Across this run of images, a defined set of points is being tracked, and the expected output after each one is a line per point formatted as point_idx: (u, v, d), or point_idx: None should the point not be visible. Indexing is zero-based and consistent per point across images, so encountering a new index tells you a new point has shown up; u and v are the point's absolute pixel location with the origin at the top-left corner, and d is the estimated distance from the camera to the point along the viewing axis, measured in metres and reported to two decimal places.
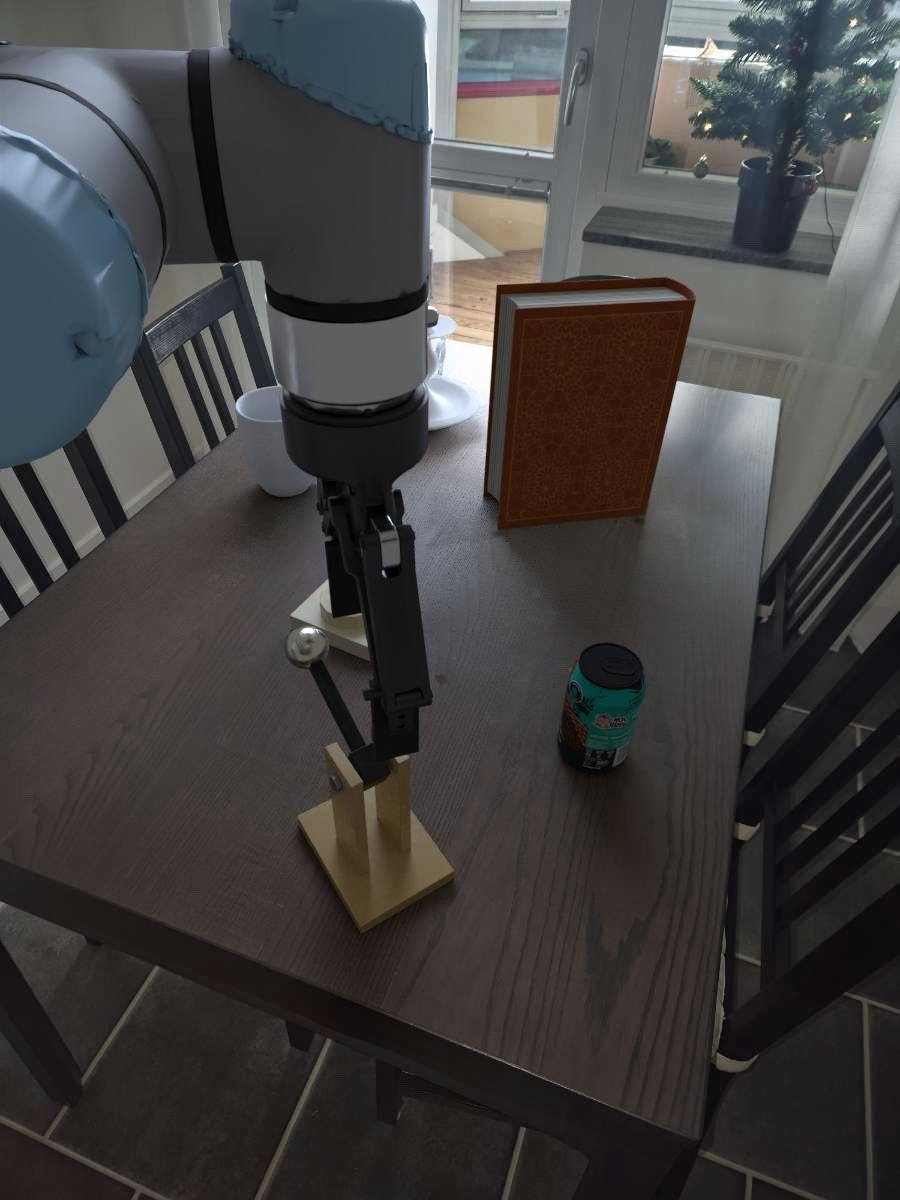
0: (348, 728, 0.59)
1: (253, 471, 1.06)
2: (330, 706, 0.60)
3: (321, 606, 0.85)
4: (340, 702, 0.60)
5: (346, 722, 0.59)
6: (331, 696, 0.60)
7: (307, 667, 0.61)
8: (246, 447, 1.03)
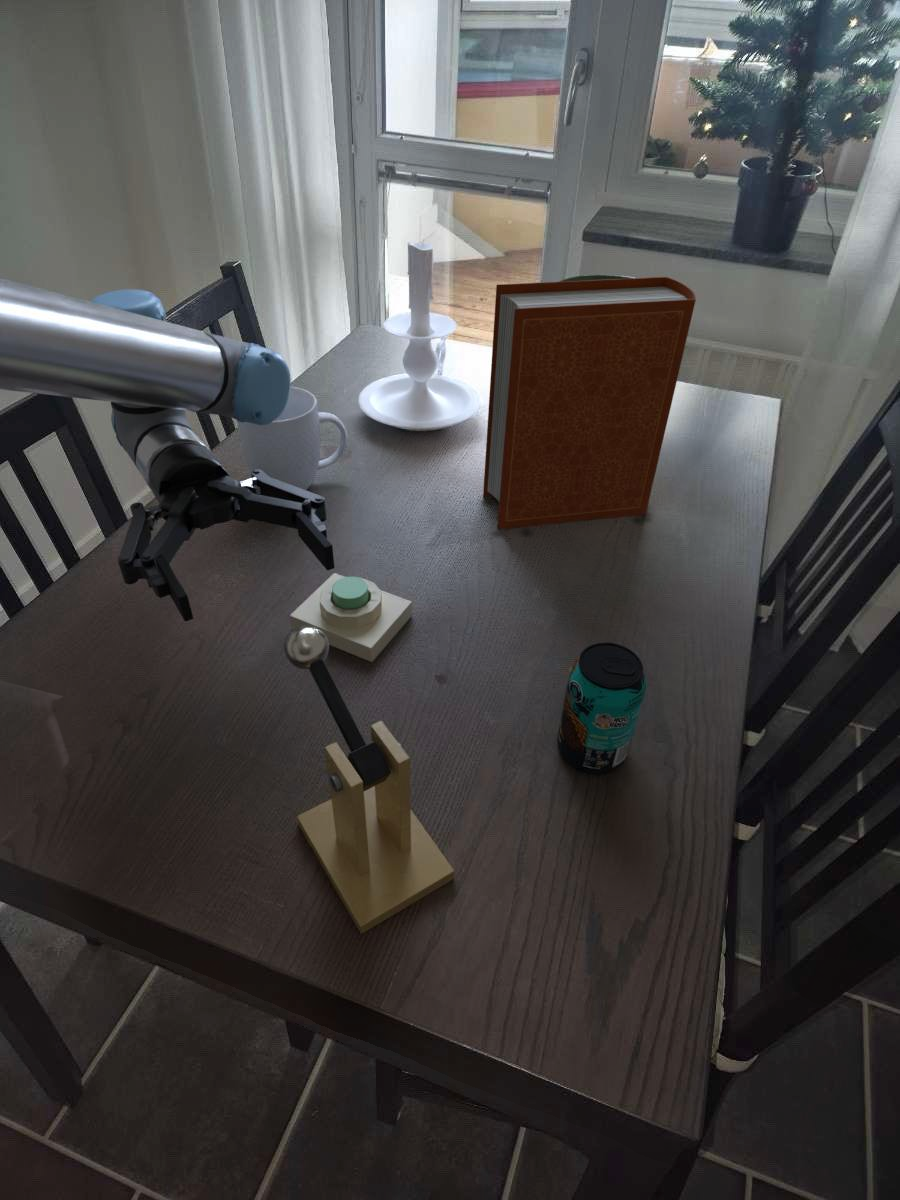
0: (348, 728, 0.59)
1: None
2: (330, 706, 0.60)
3: (321, 606, 0.85)
4: (340, 702, 0.60)
5: (346, 722, 0.59)
6: (331, 696, 0.60)
7: (307, 667, 0.61)
8: (246, 447, 1.03)
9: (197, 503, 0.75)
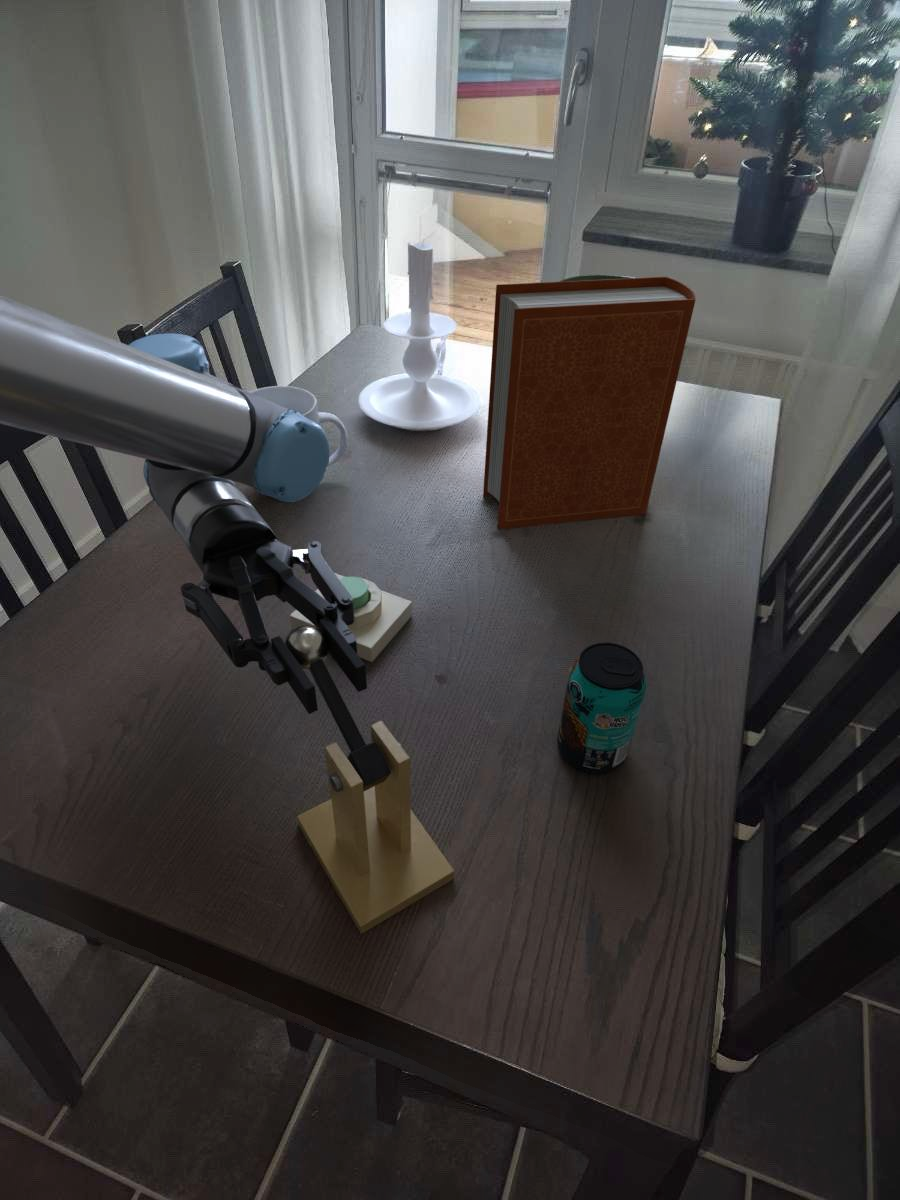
0: (348, 728, 0.59)
1: None
2: (330, 706, 0.60)
3: None
4: (340, 702, 0.60)
5: (346, 722, 0.59)
6: (331, 696, 0.60)
7: (307, 667, 0.61)
8: None
9: None
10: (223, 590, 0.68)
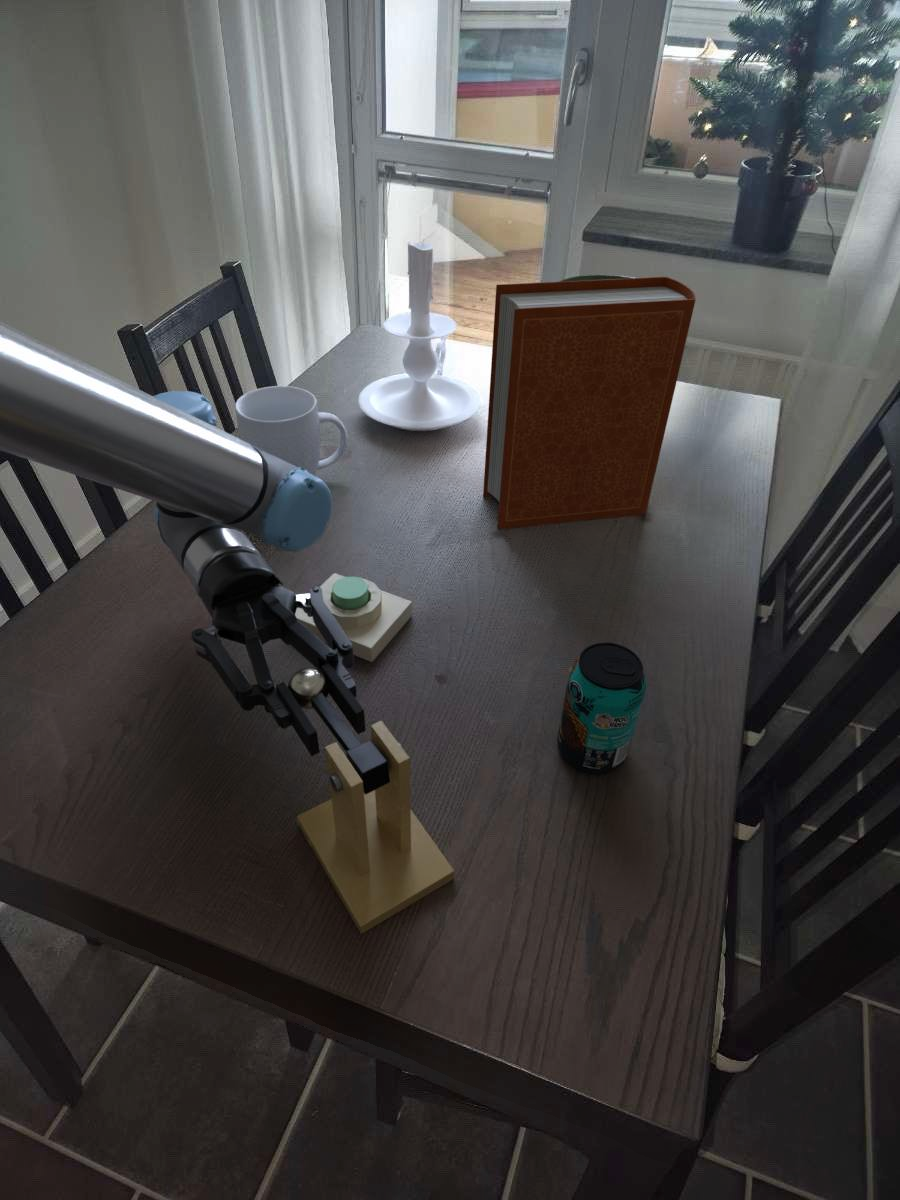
0: (346, 737, 0.61)
1: None
2: (329, 725, 0.62)
3: None
4: (338, 719, 0.62)
5: (344, 733, 0.61)
6: (329, 716, 0.63)
7: (308, 701, 0.65)
8: None
9: None
10: (231, 634, 0.72)
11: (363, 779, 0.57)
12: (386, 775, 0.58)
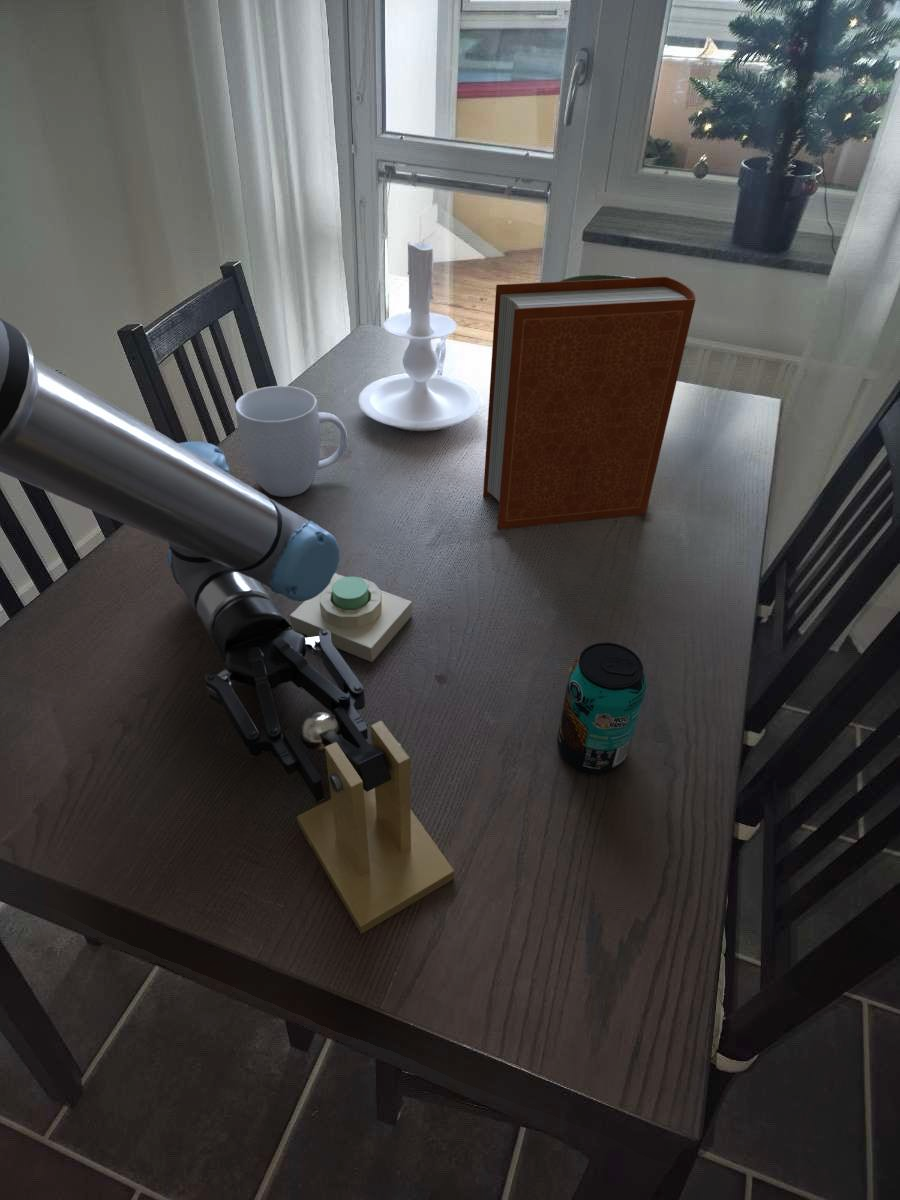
0: (349, 750, 0.61)
1: (253, 471, 1.06)
2: None
3: (321, 606, 0.85)
4: (343, 741, 0.64)
5: (347, 748, 0.62)
6: (335, 741, 0.64)
7: (318, 739, 0.67)
8: (246, 447, 1.03)
9: (264, 664, 0.75)
10: (243, 678, 0.75)
11: (360, 772, 0.57)
12: (385, 769, 0.58)
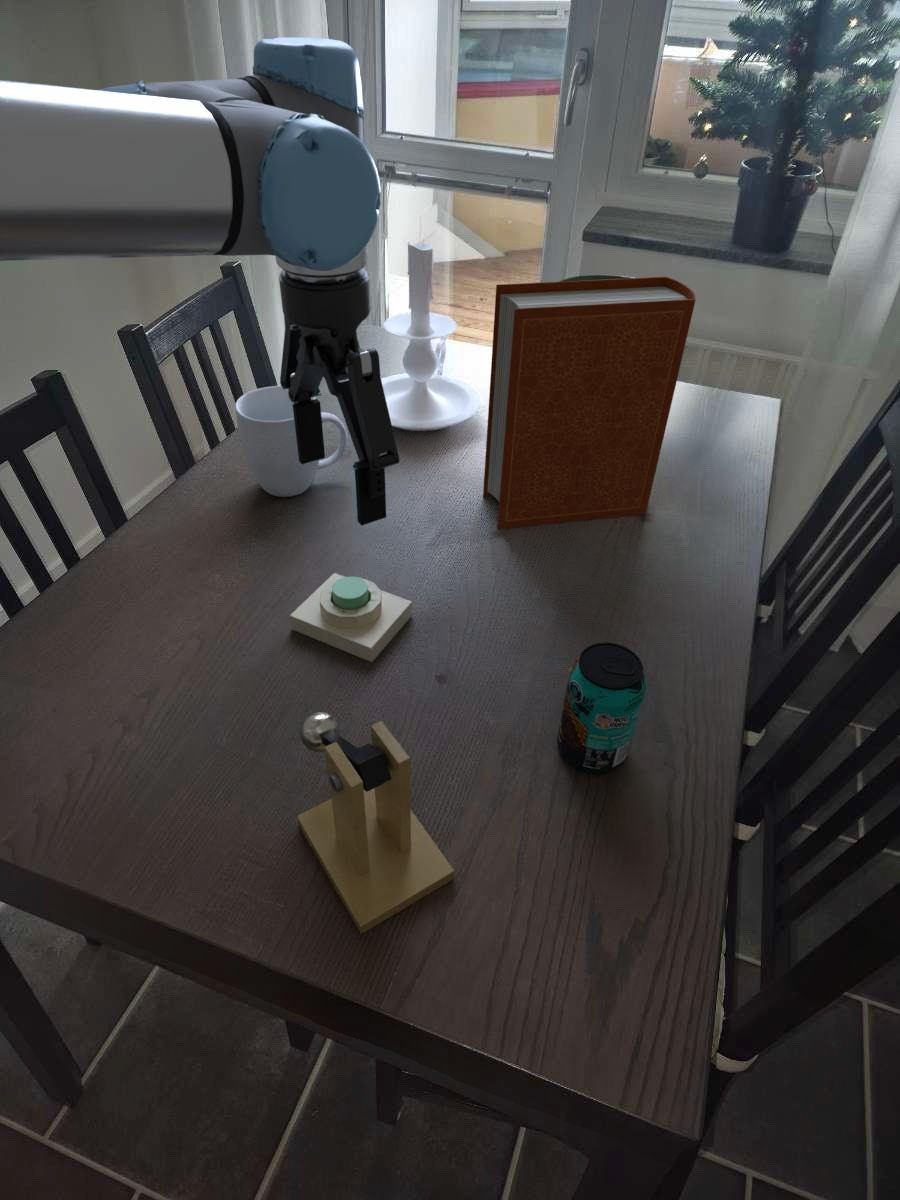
0: (349, 750, 0.61)
1: (253, 471, 1.06)
2: None
3: (321, 606, 0.85)
4: (343, 741, 0.64)
5: (347, 748, 0.62)
6: (335, 741, 0.64)
7: (318, 739, 0.67)
8: (246, 447, 1.03)
9: (314, 357, 0.68)
10: None
11: (360, 772, 0.57)
12: (385, 769, 0.58)
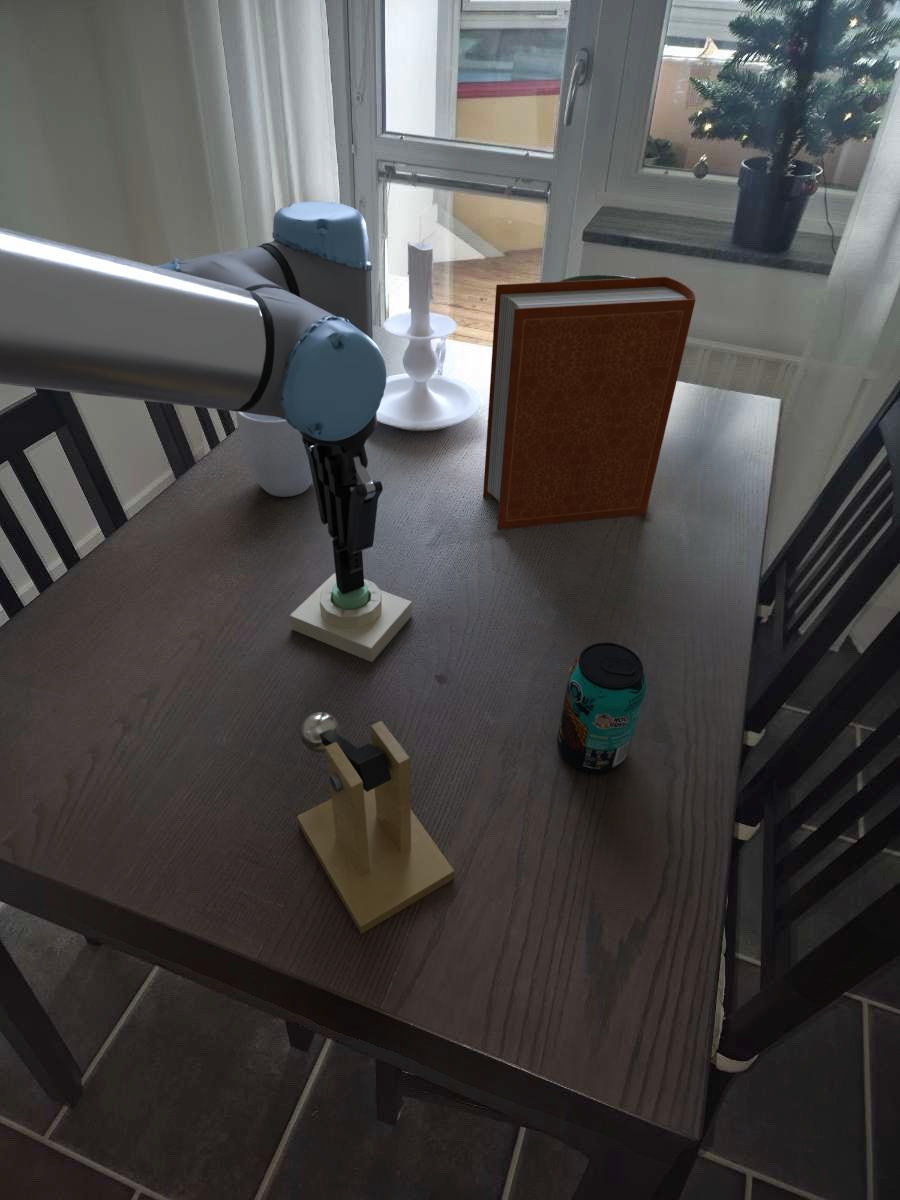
0: (349, 750, 0.61)
1: (253, 471, 1.06)
2: None
3: (321, 606, 0.85)
4: (343, 741, 0.64)
5: (347, 748, 0.62)
6: (335, 741, 0.64)
7: (318, 739, 0.67)
8: (246, 447, 1.03)
9: None
10: None
11: (360, 772, 0.57)
12: (385, 769, 0.58)
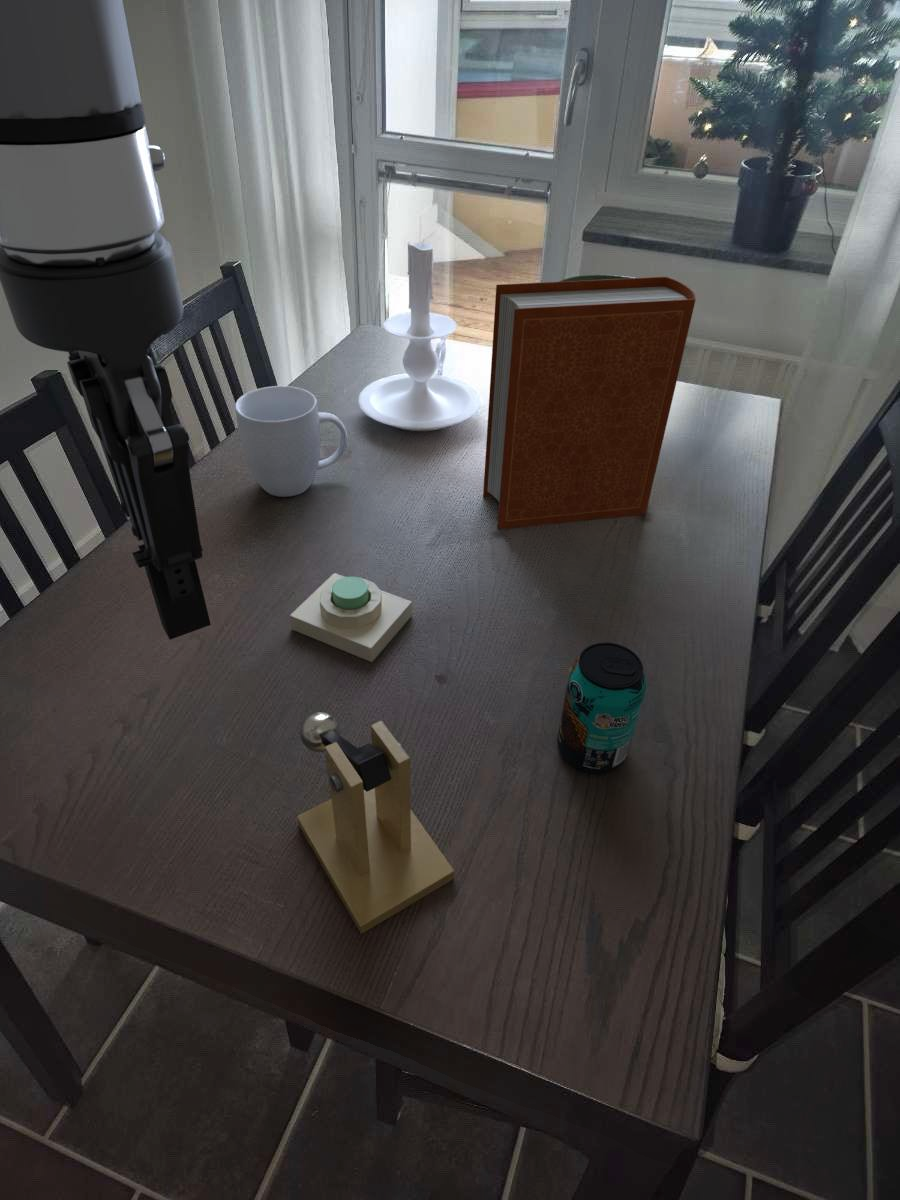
0: (349, 750, 0.61)
1: (253, 471, 1.06)
2: None
3: (321, 606, 0.85)
4: (343, 741, 0.64)
5: (347, 748, 0.62)
6: (335, 741, 0.64)
7: (318, 739, 0.67)
8: (246, 447, 1.03)
9: None
10: None
11: (360, 772, 0.57)
12: (385, 769, 0.58)
